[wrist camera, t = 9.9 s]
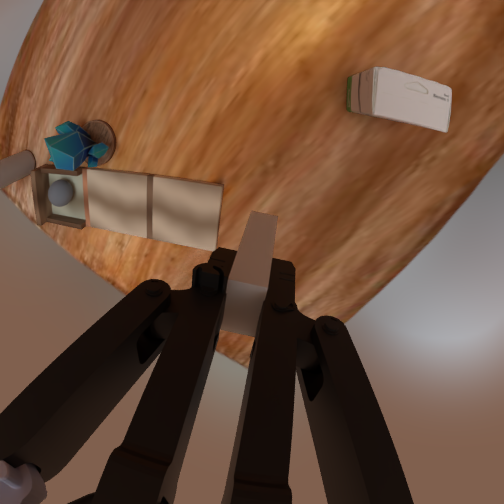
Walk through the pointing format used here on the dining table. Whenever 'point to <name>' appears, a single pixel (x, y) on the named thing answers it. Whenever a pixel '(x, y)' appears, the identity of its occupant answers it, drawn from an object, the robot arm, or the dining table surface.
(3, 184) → the beverage can
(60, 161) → the gemstone
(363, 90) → the ink box
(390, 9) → the dining table surface
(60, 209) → the lane
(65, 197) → the ball
